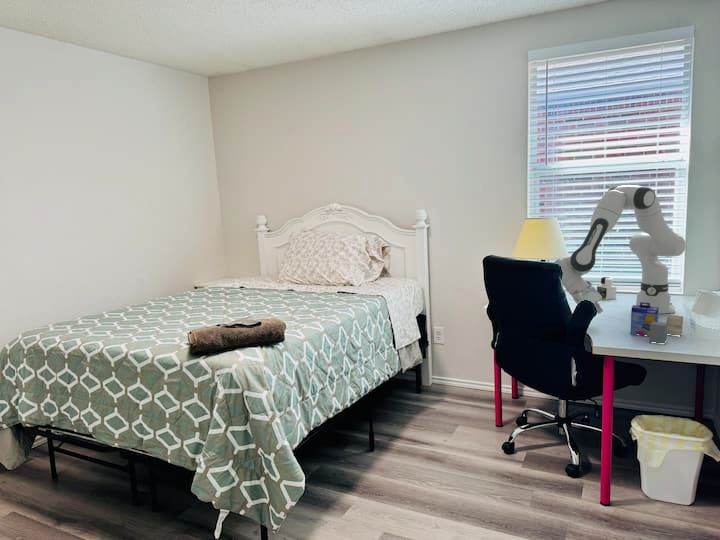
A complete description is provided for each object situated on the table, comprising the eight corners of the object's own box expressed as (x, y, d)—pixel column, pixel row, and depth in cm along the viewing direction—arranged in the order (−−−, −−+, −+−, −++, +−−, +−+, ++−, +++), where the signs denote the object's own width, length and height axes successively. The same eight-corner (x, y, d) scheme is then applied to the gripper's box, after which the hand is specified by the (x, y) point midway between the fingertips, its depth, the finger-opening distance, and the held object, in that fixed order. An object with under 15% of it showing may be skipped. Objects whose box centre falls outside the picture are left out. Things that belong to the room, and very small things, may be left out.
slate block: (652, 340, 205) (653, 321, 204) (666, 342, 202) (667, 322, 201) (649, 343, 202) (650, 323, 200) (663, 345, 198) (664, 325, 197)
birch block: (668, 332, 214) (669, 314, 213) (681, 334, 211) (683, 316, 210) (665, 335, 211) (666, 317, 209) (679, 337, 207) (680, 318, 206)
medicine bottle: (596, 297, 285) (597, 277, 283) (606, 296, 287) (607, 276, 285) (606, 300, 278) (606, 279, 276) (616, 298, 280) (617, 277, 278)
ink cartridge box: (629, 335, 213) (631, 302, 211) (631, 331, 218) (632, 299, 215) (656, 338, 208) (658, 304, 205) (657, 334, 212) (659, 301, 210)
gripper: (576, 288, 219) (599, 313, 214) (591, 280, 234) (613, 303, 229) (565, 297, 223) (588, 321, 218) (581, 289, 238) (602, 311, 233)
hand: (601, 312), depth 224 cm, fingers closed
